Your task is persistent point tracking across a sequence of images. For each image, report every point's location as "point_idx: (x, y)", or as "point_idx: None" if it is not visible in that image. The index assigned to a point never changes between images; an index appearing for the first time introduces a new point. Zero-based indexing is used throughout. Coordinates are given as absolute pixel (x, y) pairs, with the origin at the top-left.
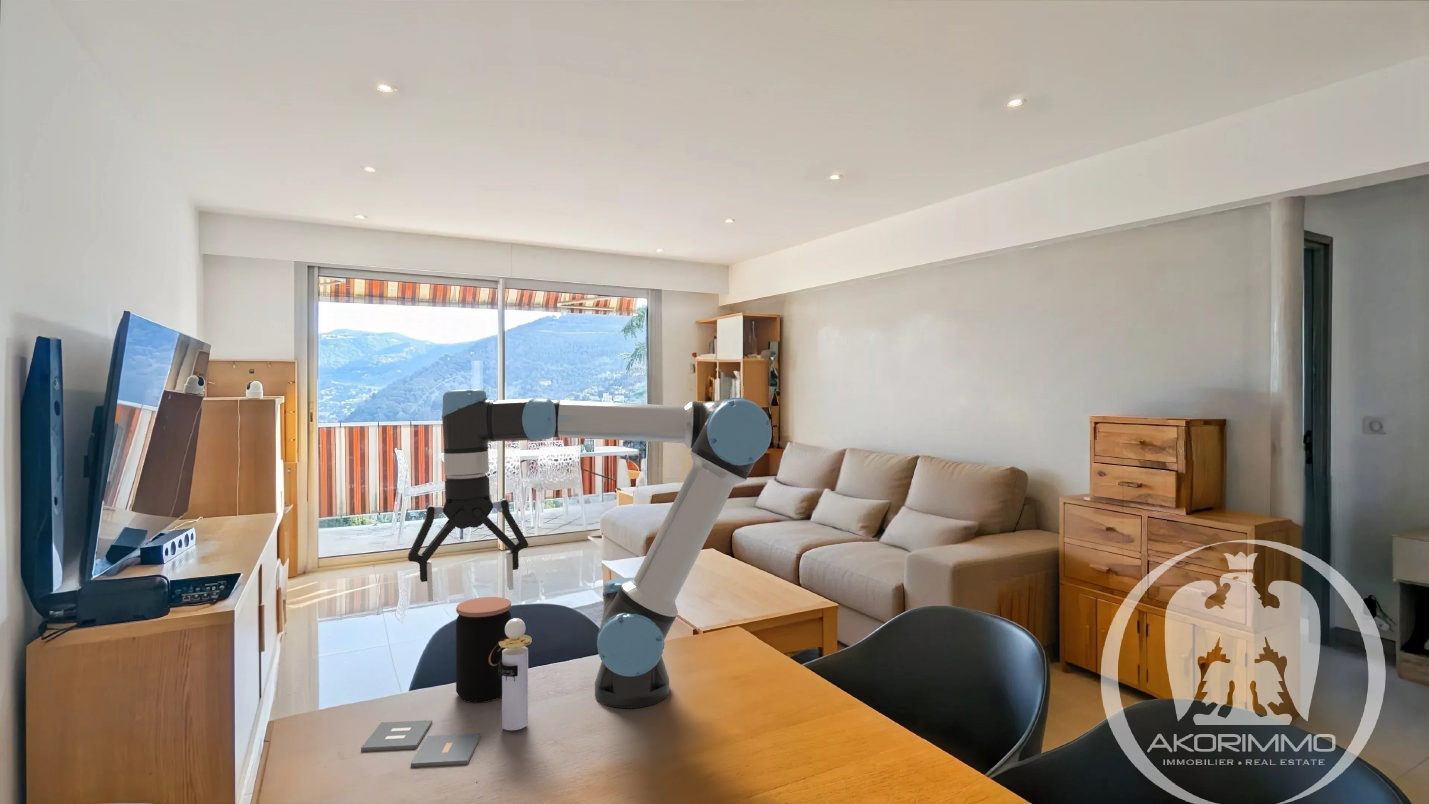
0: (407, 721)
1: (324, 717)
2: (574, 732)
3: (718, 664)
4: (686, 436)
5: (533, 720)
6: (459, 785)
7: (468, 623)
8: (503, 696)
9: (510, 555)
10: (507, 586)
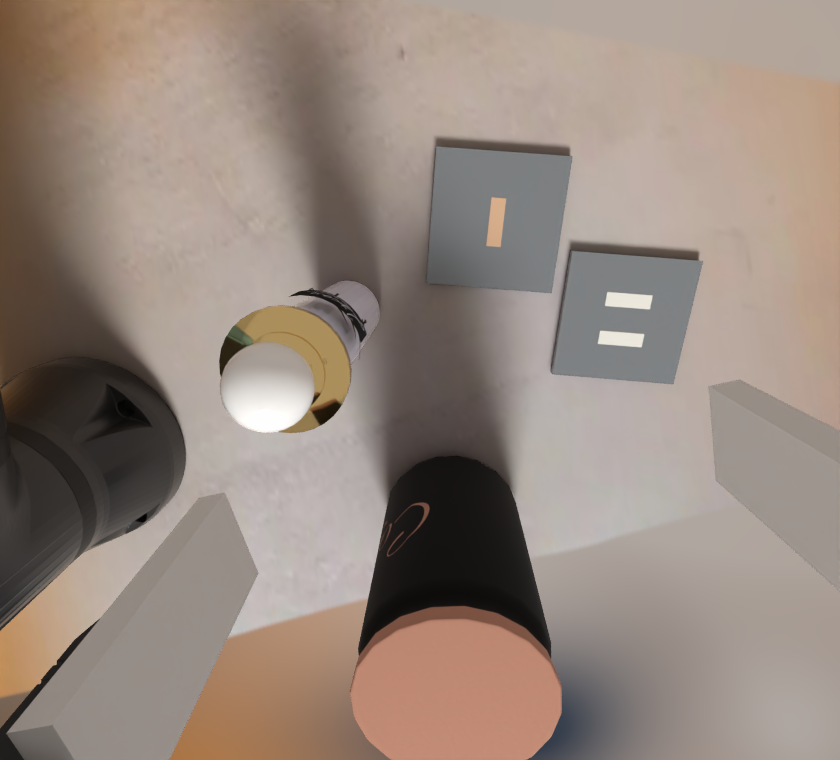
0: (610, 377)
1: None
2: (205, 263)
3: None
4: None
5: None
6: (440, 42)
7: (500, 597)
8: (361, 308)
9: (39, 714)
10: (254, 566)
